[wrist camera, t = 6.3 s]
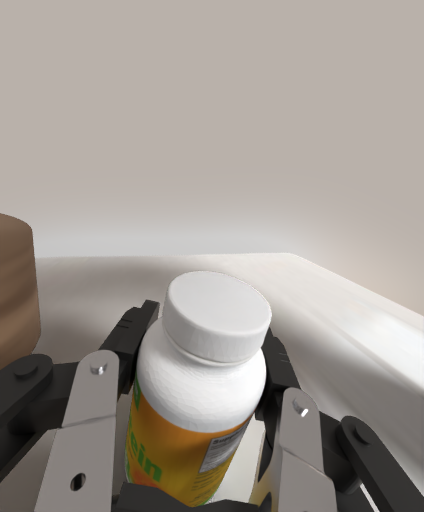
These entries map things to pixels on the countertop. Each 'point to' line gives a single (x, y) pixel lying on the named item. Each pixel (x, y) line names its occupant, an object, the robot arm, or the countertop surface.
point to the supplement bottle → (196, 385)
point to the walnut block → (17, 291)
